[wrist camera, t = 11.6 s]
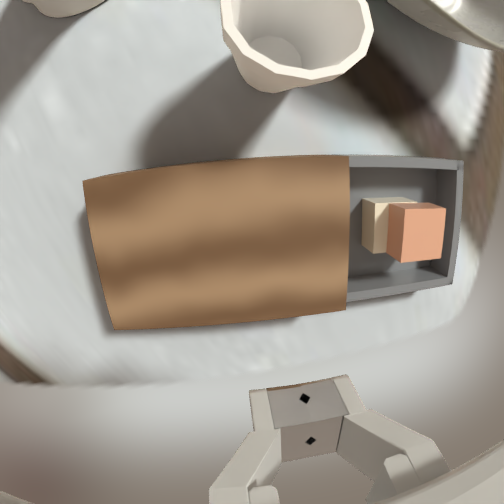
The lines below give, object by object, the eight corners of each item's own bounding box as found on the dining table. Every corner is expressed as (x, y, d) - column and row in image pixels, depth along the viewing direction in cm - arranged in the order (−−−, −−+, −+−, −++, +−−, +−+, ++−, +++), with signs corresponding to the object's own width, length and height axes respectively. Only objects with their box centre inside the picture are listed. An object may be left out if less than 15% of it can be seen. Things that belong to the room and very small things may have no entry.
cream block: (417, 201, 28) (402, 197, 31) (375, 203, 28) (362, 198, 30) (414, 249, 29) (400, 241, 32) (373, 253, 29) (361, 244, 32)
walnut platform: (107, 174, 28) (82, 180, 23) (326, 154, 30) (348, 156, 24) (129, 301, 33) (114, 329, 27) (327, 284, 34) (345, 309, 28)
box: (331, 154, 30) (347, 155, 25) (439, 158, 30) (463, 161, 26) (331, 284, 34) (345, 302, 30) (431, 270, 35) (452, 284, 31)
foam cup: (239, 119, 28) (250, 96, 16) (209, 38, 25) (200, -28, 13) (330, 94, 28) (393, 65, 15) (299, 16, 25) (339, -48, 12)
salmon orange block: (389, 203, 28) (404, 209, 25) (428, 202, 28) (446, 208, 25) (386, 252, 29) (400, 262, 26) (424, 249, 30) (440, 258, 27)
